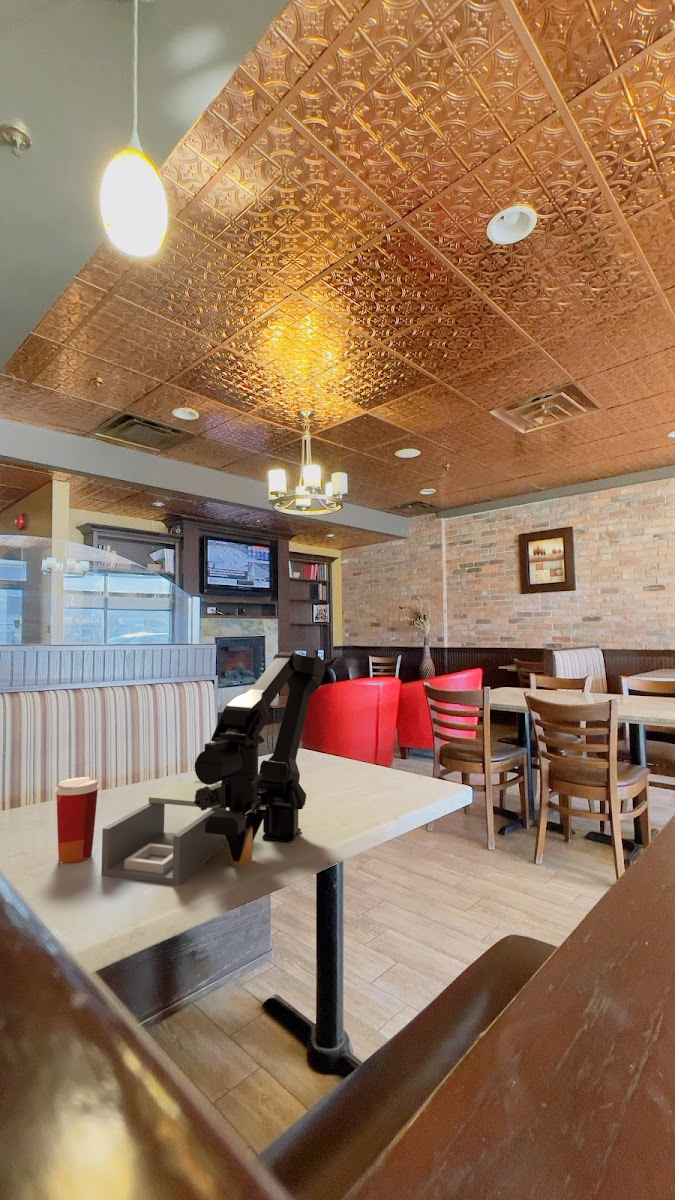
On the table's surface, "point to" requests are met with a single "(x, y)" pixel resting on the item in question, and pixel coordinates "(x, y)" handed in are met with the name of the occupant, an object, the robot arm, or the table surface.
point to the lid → (180, 794)
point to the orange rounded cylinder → (245, 852)
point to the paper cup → (76, 818)
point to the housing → (156, 847)
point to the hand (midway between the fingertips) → (241, 856)
